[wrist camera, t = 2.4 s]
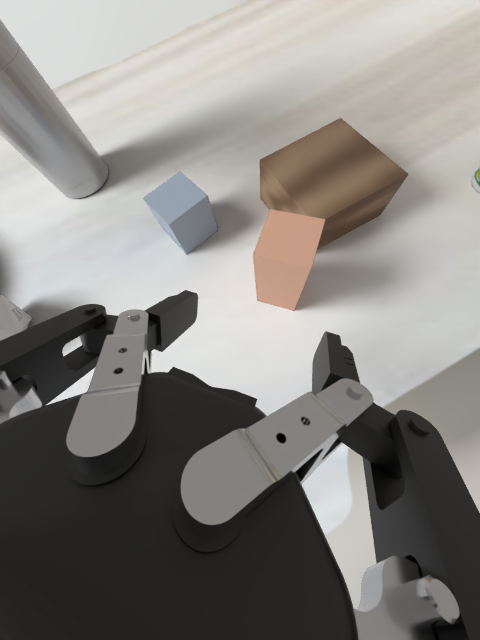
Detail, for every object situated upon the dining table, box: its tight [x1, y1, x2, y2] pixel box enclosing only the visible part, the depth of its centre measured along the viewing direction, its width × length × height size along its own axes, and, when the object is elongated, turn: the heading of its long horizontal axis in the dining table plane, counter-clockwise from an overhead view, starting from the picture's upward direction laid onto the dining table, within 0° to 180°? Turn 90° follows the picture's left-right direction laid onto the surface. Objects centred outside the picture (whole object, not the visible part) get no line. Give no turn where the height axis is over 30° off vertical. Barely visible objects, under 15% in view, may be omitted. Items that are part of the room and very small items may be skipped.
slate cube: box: [143, 172, 218, 254], centre depth 28 cm, size 6×6×6 cm
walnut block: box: [260, 118, 408, 249], centre depth 27 cm, size 12×12×6 cm
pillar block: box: [253, 209, 325, 311], centre depth 22 cm, size 5×5×10 cm
